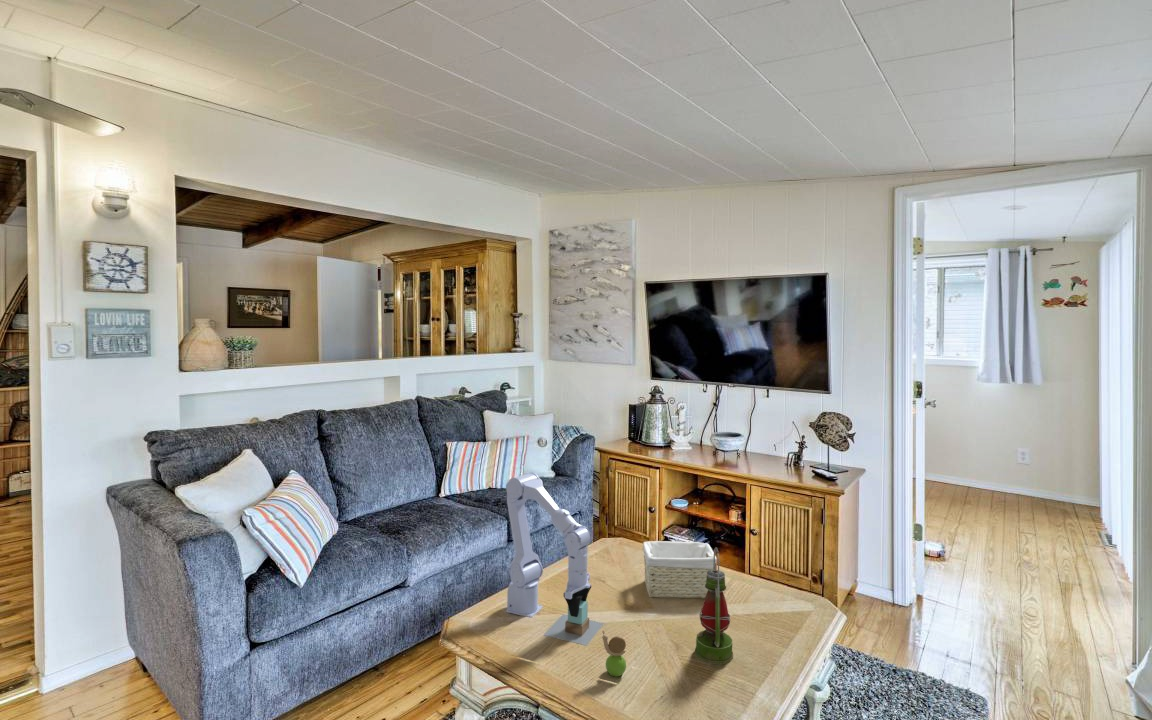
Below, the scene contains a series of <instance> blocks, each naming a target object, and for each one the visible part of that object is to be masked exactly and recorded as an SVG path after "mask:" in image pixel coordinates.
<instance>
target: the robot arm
mask: <svg viewBox="0 0 1152 720" xmlns="http://www.w3.org/2000/svg"><path fill="white" fill-rule="evenodd" d="M538 475H539V474H537V473H535V472H529V473H527V474H523V475H519V476H516V477H511V478H510V479H508V481H507V482H506V484H505V491H506V504H507V510H508V515H509V516H508V517H509V522H510V528H511V535H512V542H513V546H514V551H515V555H514V557H513V559H512V560H511V562H510V572H509V575H510V580H511V581H510V583H509V585H508V587H507V592H506V594H507V595H506V597H507V598H506V599H507V602H506V603H507V605H506V606H507V607H506V608H507V609H506V613H509V614H514V615H518V616H522V617H523V616H525V617H528V618H533V617H535V616H536V615H537V613H539V611H541V609H543V608H544V606H543V605H541V604H539V582H540V578H541V577H542V575H543V573H544V568H543V565H542V563H541V561H540V558H539V554H537V553H535V552H534V551H533V547H532V540H531V535H530V528H529V522H528V517H527V516H528V515H527V509H526V504H525V503H526V502H527V500H534V501H535V502H536V503H537V504H539V506H540V507H542V509H544V511H545V512H546V513H547V514H548V515H550V522H551V524H552V525H553V526H554V527H555V529H556V530H557V531H558V532H559V533H560V534H561V535H562V537H563V538H564V540H563V542H564V544H565V547H566V549H567V550H566V551H567V553H566V554H568V555H567V556H568V562H567V563H568V565H567V567H568V569H567V571H568V573H567V574H568V575H567V576H568V577H567V578H568V579H567V583H566V584H567V585H566V589H565V591H564V592H563V598H564V600H565V601H566V604H567V608H568V607H569V611H570V615H571V616H574V617H577V616H578V613H579V605H580V601H586V602H587V599H588V595H589V594H590V590H591V589H592V583H590V582H589V581H590V580H591V574H590V573H588V553H589V552H588V550H589V549H588V545H589V544H590V543H591V542H592V533H591V531H590V529H589V528H588V527H587V526H584V525H581V524H580V523H578V522H577V521H576V520H575V519H574V518H573V516H572V515H571V514H570V513H571V512H569V511H568V510H567V509H565V508H560V507H559V506H558V504H557V503H556V502H555V501H554V499H553V498H552V497H551V495H550V494H549V492H548V491H547V490H546V488H544V484H543V480H542V479H541V478H540V477H539V476H538Z"/></svg>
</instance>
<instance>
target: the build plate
mask: <svg viewBox="0 0 1152 720" xmlns="http://www.w3.org/2000/svg"><path fill="white" fill-rule="evenodd" d="M567 620H568V614H563V613H562V614H561V616H560V617H559V618H558V619H556V621H555V622H554V623H553V624H552V625H551V626H550V627H549V628H548V629H547V630H546V631H545V633H544V634H543V636H545V637H549V638H553V639H558V640H562V641H566V642H570V643H574V644H578V645H583V646H588V645H589V644H590V642H591V641H592V640H593V639H594V637H595V636H596V634H597V633H598V632H599V630H600V629H601V628H602V627H603V625H604V624H605V623H604V622H601V621H595V620H591V619H589V628H588V629H587V631H586V632H585V633H584V634H583V636H580V635H576V634H571V633H567V632H565V622H566V621H567Z"/></svg>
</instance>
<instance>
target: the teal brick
mask: <svg viewBox="0 0 1152 720" xmlns="http://www.w3.org/2000/svg"><path fill="white" fill-rule="evenodd" d="M588 604H589V603H588V601H587V600H586V601H580V605H579V613H578V616H577V617H574V616H571V615H570V611H569V607H568V606H567V615H568V622H572V623H576V624H581V625H582V624H583V623H584V622H585V620H586V619H587V618H589V615H588V613H589V612H588V611H589V610H588V609H589V608H588V607H589V606H588Z"/></svg>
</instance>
